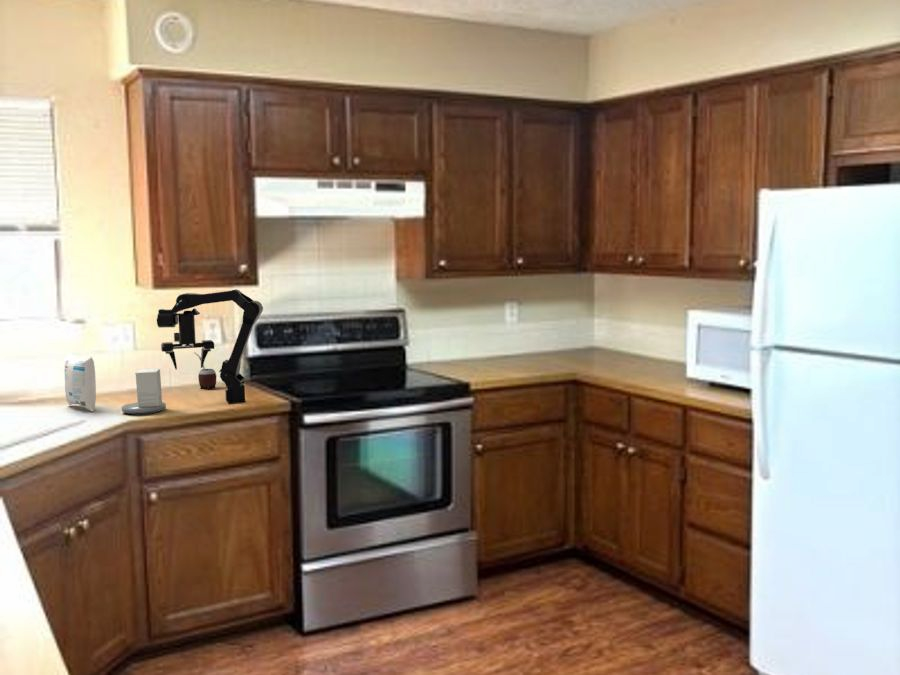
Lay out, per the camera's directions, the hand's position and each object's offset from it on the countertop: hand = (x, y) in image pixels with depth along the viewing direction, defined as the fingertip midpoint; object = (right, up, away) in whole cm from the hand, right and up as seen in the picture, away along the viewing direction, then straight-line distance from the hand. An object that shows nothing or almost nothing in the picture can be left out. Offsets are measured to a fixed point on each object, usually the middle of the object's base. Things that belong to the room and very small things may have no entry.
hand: (188, 368), depth 334 cm
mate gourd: (-2, -10, +31) cm, 33 cm away
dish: (-12, -15, -14) cm, 24 cm away
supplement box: (-10, -13, -13) cm, 21 cm away
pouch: (-37, -15, -7) cm, 41 cm away
